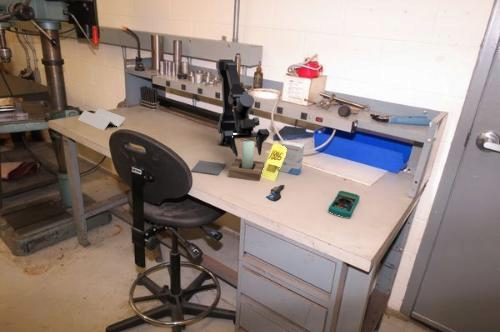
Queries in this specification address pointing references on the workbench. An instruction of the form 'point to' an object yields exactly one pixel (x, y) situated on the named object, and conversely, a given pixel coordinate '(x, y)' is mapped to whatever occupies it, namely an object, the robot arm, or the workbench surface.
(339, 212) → the digital multimeter
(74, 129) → the workbench surface
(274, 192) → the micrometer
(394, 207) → the workbench surface
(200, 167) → the mat
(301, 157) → the ink box
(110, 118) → the z bracket
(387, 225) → the workbench surface
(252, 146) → the pin
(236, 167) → the socket block
